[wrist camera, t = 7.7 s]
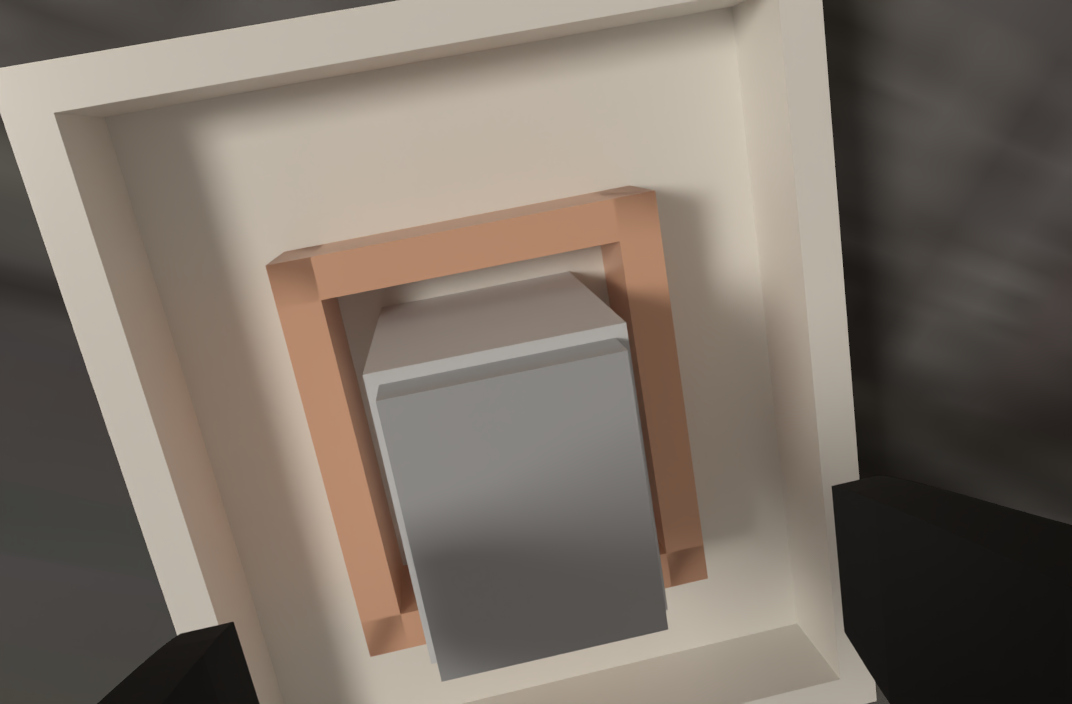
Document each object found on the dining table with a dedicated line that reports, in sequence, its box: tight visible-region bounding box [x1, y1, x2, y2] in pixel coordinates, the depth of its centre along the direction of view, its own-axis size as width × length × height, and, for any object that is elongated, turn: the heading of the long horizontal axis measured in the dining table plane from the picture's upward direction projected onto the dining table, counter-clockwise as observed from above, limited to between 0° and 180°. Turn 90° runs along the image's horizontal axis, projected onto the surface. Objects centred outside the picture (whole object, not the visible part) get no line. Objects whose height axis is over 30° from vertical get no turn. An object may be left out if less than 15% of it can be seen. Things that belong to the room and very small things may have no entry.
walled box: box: [0, 0, 877, 704], centre depth 17 cm, size 16×14×3 cm
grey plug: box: [363, 271, 668, 682], centre depth 15 cm, size 5×4×6 cm
